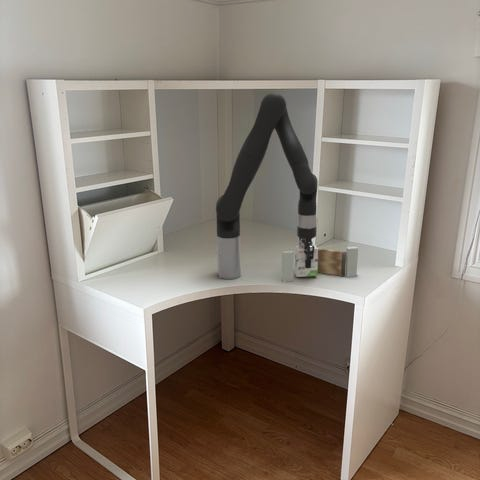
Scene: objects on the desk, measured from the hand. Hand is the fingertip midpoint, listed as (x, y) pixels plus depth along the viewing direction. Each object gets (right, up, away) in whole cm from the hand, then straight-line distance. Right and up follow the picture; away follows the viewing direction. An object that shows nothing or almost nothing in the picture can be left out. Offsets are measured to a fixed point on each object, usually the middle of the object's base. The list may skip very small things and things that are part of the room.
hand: (306, 265), depth 197 cm
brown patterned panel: (+7, -3, +5) cm, 9 cm away
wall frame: (+5, -5, 0) cm, 7 cm away
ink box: (0, -4, +1) cm, 4 cm away
